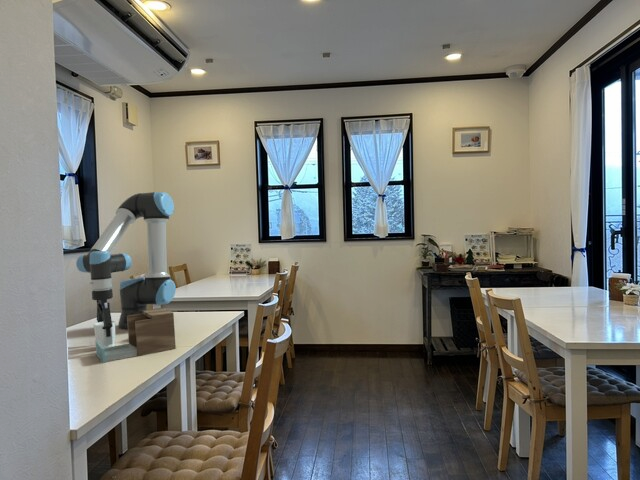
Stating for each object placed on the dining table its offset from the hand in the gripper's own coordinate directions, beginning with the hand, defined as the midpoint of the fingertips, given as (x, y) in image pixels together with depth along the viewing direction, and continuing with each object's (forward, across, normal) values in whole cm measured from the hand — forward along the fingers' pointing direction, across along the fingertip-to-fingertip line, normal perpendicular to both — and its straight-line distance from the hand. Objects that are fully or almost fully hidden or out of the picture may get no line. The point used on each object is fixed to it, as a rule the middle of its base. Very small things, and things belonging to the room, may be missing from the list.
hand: (105, 341), depth 185 cm
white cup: (+3, 0, 0) cm, 3 cm away
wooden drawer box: (+2, +16, +14) cm, 21 cm away
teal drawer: (+2, +16, +2) cm, 16 cm away
